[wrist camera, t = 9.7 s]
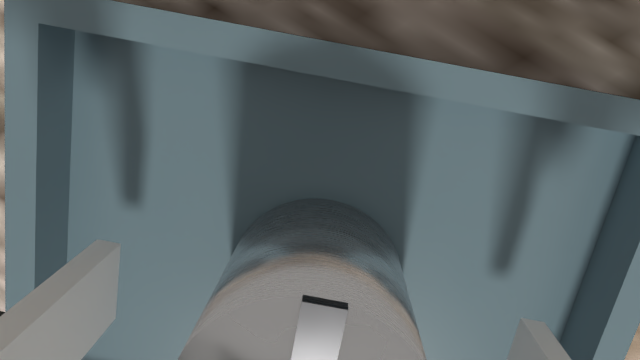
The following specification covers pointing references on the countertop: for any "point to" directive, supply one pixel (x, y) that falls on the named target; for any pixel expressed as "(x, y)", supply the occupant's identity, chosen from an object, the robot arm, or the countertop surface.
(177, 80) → the parts tray
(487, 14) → the countertop surface
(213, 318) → the knob
